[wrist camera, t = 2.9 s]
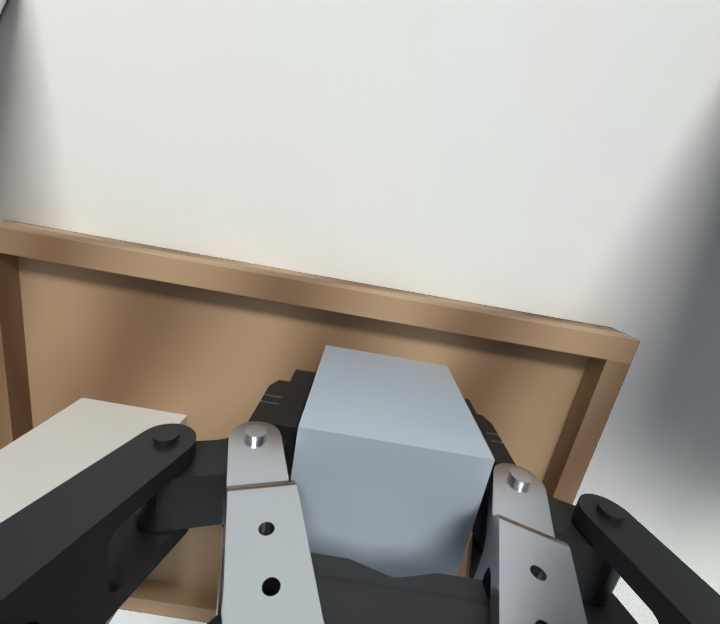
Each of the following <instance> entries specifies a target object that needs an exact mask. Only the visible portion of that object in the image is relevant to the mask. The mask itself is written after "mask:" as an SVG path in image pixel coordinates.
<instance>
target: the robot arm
mask: <svg viewBox="0 0 720 624" xmlns="http://www.w3.org/2000/svg"><path fill="white" fill-rule="evenodd" d="M315 375H316V373H315V372H310V371H304V370H298V369H296V370H295V372H294V374H293V376H292V378H291V380H290V382H289V381H283V380H278V381H276V382H274V383H273V384H271V385H269V387H268V388H267V390H266V392H265V394H264V395H263V397H262V399H261V401H260V402H259V404H258V405H257V407H256V409H255V411H254V412H253V414H252V416H251V417H250V419H249V421H248V422H245V423H242V424H240V425H238V426H236V427H235V428H233V429H232V431H231V432H230V434H229V437H228V438H225V439H219V440H205V441H196V433H195V431H194V430H193V429H192V428H190V427H189V426H186V425H183V424H175V423H170V424H162V425H157V426H154V427H152V428H149V429H147V430H145V431H144V432H142V433H140V434H139V435H137V436H136V437H134V438H133V439H131V440H130V441H128V442H126V443H125V444H123V445H122V446H120V447H119V448H117V449H115V450H114V451H112V452H111V453H109V454H108V455H106V456H104V457H103V458H101V459H100V460H98V461H97V462H95V463H93V464H92V465H90V466H89V467H87V468H86V469H84V470H82V471H81V472H79V473H78V474H76V475H75V476H73V477H72V478H70V479H68V480H67V481H65V482H64V483H62V484H61V485H59V486H57V487H56V488H54V489H53V490H51V491H50V492H48V493H46V494H45V495H43V496H42V497H40V498H39V499H37V500H35V501H34V502H32V503H31V504H29V505H28V506H26V507H25V508H23V509H21V510H20V511H18V512H17V513H15V514H14V515H12V516H10V517H9V518H7V519H6V520H4V521H3V522H1V523H0V624H105V623H106V622H107V621H108V620H109V619H110V618H111V617H112V615H113V614H114V613H115V612H116V611H117V610H118V609H119V608H120V607H121V605H122V604H123V603H124V602H125V601H126V600H127V599H128V598H129V597H130V595H131V594H132V593H133V592H134V591H135V590H136V589H137V588H138V587H139V585H140V584H141V583H142V582H143V581H144V580H145V579H146V578H147V577H148V575H149V574H150V573H151V572H152V571H153V570H154V569H155V568H156V567H157V565H158V564H159V563H160V562H161V561H162V560H163V559H164V558H165V557H166V555H167V554H168V553H169V552H170V551H171V550H172V549H173V548H174V547H175V545H176V544H177V543H178V542H179V541H180V540H181V539H182V538H183V537H184V535H185V534H186V533H187V532H188V530H189V528H195V527H203V526H211V525H219V524H221V540H220V559H219V578H218V594H217V608H216V616H215V617H214V618H213V619H212V620H211V621H210V622H208V623H207V624H638V623H637V622H636V620H635V619H634V618H633V617H632V616H631V614H630V613H629V612H628V611H627V610H626V608H625V607H624V606H623V605H622V604H621V602H620V601H619V600H618V599H617V598H616V597H615V595H614V594H613V593H612V592H613V590H614V588H615V586H616V584H617V582H618V580H619V578H620V576H621V577H622V578H623V579H624V581H625V582H626V583H627V584H628V585H629V586H630V587H631V588H632V589H633V591H634V592H635V593H636V594H637V595H638V596H639V597H640V598H641V599H642V601H643V602H644V603H645V604H646V605H647V606H648V607H649V608H650V610H651V611H652V612H653V613H654V615H655V617H656V618H657V620H658V622H659V624H720V595H719V594H718V593H717V592H716V591H715V590H714V589H712V588H711V587H710V586H709V585H708V584H707V583H706V582H705V581H704V580H702V579H701V578H700V577H699V576H698V575H697V574H696V573H695V572H694V571H693V570H691V569H690V568H689V567H688V566H687V565H686V564H685V563H684V562H683V561H681V560H680V559H679V558H678V557H677V556H676V555H675V554H674V553H673V552H671V551H670V550H669V549H668V548H667V547H666V546H665V545H664V544H663V543H662V542H660V541H659V540H658V539H657V538H656V537H655V536H654V535H653V534H652V533H650V532H649V531H648V530H647V529H646V528H645V527H644V526H643V525H642V524H640V523H639V522H638V521H637V520H636V519H635V518H634V517H633V516H632V515H631V514H629V513H628V512H627V511H626V510H625V509H623V508H622V507H620V506H619V505H617V504H616V503H614V502H612V501H610V500H608V499H606V498H604V497H601V496H598V495H594V494H583V495H581V496H580V497H579V500H578V502H577V504H576V506H574V505H572V504H569V503H567V502H564V501H561V500H559V499H556V498H554V497H551V496H549V495H547V493H546V489H545V486H544V485H543V483H542V482H541V481H540V480H539V479H538V478H537V477H536V476H535V475H534V474H532V473H531V472H530V471H528V470H526V469H524V468H522V467H520V466H517V465H516V464H515V462H514V461H513V459H512V457H511V456H510V454H509V452H508V450H507V449H506V447H505V445H504V444H503V443H502V440H501V438H500V437H499V435H498V433H497V432H496V430H495V428H494V426H493V425H492V423H490V422H489V421H488V420H487V419H486V418H485V417H484V416H483V415H480V414H477V413H476V411H475V409H474V408H473V406H472V404H471V402H470V400H469V399H465V398H464V400H465V402H466V404H467V406H468V408H469V410H470V412H471V414H472V416H473V418H474V420H475V422H476V424H477V426H478V428H479V430H480V431H481V433H482V435H483V437H484V439H485V441H486V443H487V445H488V447H489V449H490V451H491V453H492V455H493V457H494V459H495V461H494V464H493V467H492V470H491V473H490V476H489V479H488V482H487V485H486V488H485V491H484V494H483V497H482V500H481V504H480V507H479V510H478V513H477V516H476V519H475V522H474V525H473V528H472V532H473V533H472V536H471V539H470V542H469V547H468V557H467V567H466V577H460V576H453V575H447V574H441V573H435V574H426V575H417V576H408V577H399V578H396V577H391V576H388V575H386V574H384V573H381V572H379V571H377V570H374V569H372V568H370V567H367V566H365V565H362V564H360V563H358V562H355V561H353V560H351V559H348V558H342V557H336V556H330V555H324V554H317V553H311V552H310V550H309V545H308V539H307V534H306V529H305V524H304V519H303V514H302V509H301V504H300V499H299V494H298V488H297V484H296V482H295V480H291V473H292V466H293V460H294V453H295V446H296V439H297V432H298V426H299V423H300V420H301V417H302V414H303V411H304V408H305V405H306V402H307V399H308V396H309V393H310V391H311V388H312V385H313V382H314V379H315Z"/></svg>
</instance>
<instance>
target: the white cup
mask: <svg viewBox="0 0 720 624" xmlns="http://www.w3.org/2000/svg"><path fill="white" fill-rule="evenodd" d="M6 1H7V0H0V14H1V12H2V9H3V7H4V5H5V3H6Z"/></svg>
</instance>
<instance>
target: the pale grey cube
mask: <svg viewBox="0 0 720 624" xmlns="http://www.w3.org/2000/svg"><path fill="white" fill-rule="evenodd" d="M170 423H175V424H183V425H186V426H187V415H183V414H177V413H171V412H165V411H159V410H153V409H147V408H141V407H135V406H129V405H123V404H117V403H111V402H105V401H100V400H94V399H88V398H81V399H79V400H78V401H76V402H75V403H73V404H71V405H70V406H68V407H67V408H65V409H64V410H62V411H60V412H59V413H57V414H56V415H54V416H53V417H51V418H49V419H48V420H46V421H45V422H43V423H42V424H40V425H39V426H37V427H35V428H34V429H32V430H31V431H29V432H28V433H26V434H24V435H23V436H21V437H20V438H18V439H17V440H15V441H13V442H12V443H10V444H9V445H7V446H6V447H4V448H2V449H1V450H0V523H1V522H3V521H4V520H6V519H7V518H9V517H10V516H12V515H14V514H15V513H17V512H18V511H20V510H21V509H23V508H25V507H26V506H28V505H29V504H31V503H32V502H34V501H35V500H37V499H39V498H40V497H42V496H43V495H45V494H46V493H48V492H50V491H51V490H53V489H54V488H56V487H57V486H59V485H61V484H62V483H64V482H65V481H67V480H68V479H70V478H72V477H73V476H75V475H76V474H78V473H79V472H81V471H82V470H84V469H86V468H87V467H89V466H90V465H92V464H93V463H95V462H97V461H98V460H100V459H101V458H103V457H104V456H106V455H108V454H109V453H111V452H112V451H114V450H115V449H117V448H119V447H120V446H122V445H123V444H125V443H126V442H128V441H130V440H131V439H133V438H134V437H136V436H137V435H139V434H140V433H142V432H144V431H145V430H147V429H149V428H152V427H154V426H157V425H162V424H170ZM115 613H116V612H115ZM115 613H114V614H115ZM114 614H113V615H112V617H111V618H110V619H109V620H108V621H107V622H106V623H105V624H109V622H110V621H111V619H112V618H113V616H114Z"/></svg>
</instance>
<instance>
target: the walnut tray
mask: <svg viewBox="0 0 720 624" xmlns="http://www.w3.org/2000/svg"><path fill="white" fill-rule="evenodd" d="M639 343H640V341H639V340H637V339H634V338H632V337H630V336H628V335H626V334H624V333H622V332H620V331H617V330H615V329H613V328H610V327H605V326H599V325H594V324H588V323H582V322H577V321H571V320H565V319H560V318H554V317H549V316H543V315H537V314H532V313H526V312H520V311H515V310H509V309H504V308H498V307H492V306H487V305H481V304H475V303H470V302H464V301H459V300H453V299H447V298H442V297H436V296H430V295H425V294H419V293H414V292H408V291H402V290H397V289H391V288H385V287H380V286H374V285H369V284H363V283H357V282H352V281H346V280H340V279H335V278H329V277H324V276H318V275H312V274H307V273H301V272H295V271H290V270H284V269H279V268H273V267H267V266H262V265H256V264H250V263H245V262H239V261H234V260H228V259H222V258H217V257H211V256H205V255H200V254H194V253H189V252H183V251H177V250H172V249H166V248H161V247H155V246H149V245H144V244H138V243H132V242H127V241H121V240H116V239H110V238H104V237H99V236H93V235H87V234H82V233H76V232H71V231H65V230H59V229H54V228H48V227H42V226H37V225H31V224H26V223H20V222H14V221H9V220H8V221H0V450H1V449H2V448H4V447H6V446H7V445H9V444H10V443H12V442H13V441H15V440H17V439H18V438H20V437H21V436H23V435H24V434H26V433H28V432H29V431H31V430H32V429H34V428H35V427H37V426H39V425H40V424H42V423H43V422H45V421H46V420H48V419H49V418H51V417H53V416H54V415H56V414H57V413H59V412H60V411H62V410H64V409H65V408H67V407H68V406H70V405H71V404H73V403H75V402H76V401H78V400H79V399H81V398H88V399H94V400H100V401H105V402H111V403H117V404H123V405H129V406H135V407H141V408H147V409H153V410H159V411H165V412H171V413H177V414H183V415H187V426H189V427H190V428H192V429H193V430H194V431H195V433H196V441H205V440H219V439H225V438H228V437H229V434H230V432H231V431H232V429H233V428H235V427H236V426H238V425H240V424H242V423H245V422H248V421H249V419H250V417H251V416H252V414H253V412H254V411H255V409H256V407H257V405H258V404H259V402H260V401H261V399H262V397H263V395H264V394H265V392H266V390H267V388H268V387H269V385H271V384H273V383H274V382H276V381H278V380H283V381H289V382H290V380H291V378H292V376H293V374H294V372H295V370H296V369H298V370H304V371H310V372H315V373H317V370H318V367H319V364H320V361H321V358H322V355H323V352H324V349H325V346H326V345H329V346H335V347H341V348H346V349H352V350H358V351H364V352H369V353H375V354H381V355H387V356H392V357H398V358H404V359H410V360H415V361H421V362H427V363H433V364H438V365H444V366H447V367H448V369H449V370H450V372H451V374H452V376H453V378H454V380H455V382H456V384H457V386H458V388H459V390H460V392H461V394H462V396H463V398H465V399H469V400H470V402H471V404H472V406H473V408H474V409H475V411H476V413H477V414H480V415H483V416H484V417H485V418H486V419H487V420H488V421H489V422H490V423H492V425H493V426H494V428H495V430H496V432H497V433H498V435H499V437H500V438H501V440H502V443H503V444H504V445H505V447H506V449H507V450H508V452H509V454H510V456H511V457H512V459H513V461H514V462H515V464H516V465H517V466H520V467H522V468H524V469H526V470H528V471H530V472H531V473H532V474H534V475H535V476H536V477H537V478H538V479H539V480H540V481H541V482H542V483H543V485H544V486H545V489H546V493H547V495H549V496H551V497H554V498H556V499H559V500H561V501H564V502H567V503H569V504H573V501H574V499H575V497H576V494H577V492H578V489H579V487H580V485H581V482H582V480H583V477H584V475H585V472H586V470H587V468H588V465H589V463H590V460H591V458H592V456H593V453H594V451H595V448H596V446H597V444H598V441H599V439H600V436H601V434H602V432H603V429H604V427H605V424H606V422H607V420H608V417H609V415H610V412H611V410H612V408H613V405H614V403H615V400H616V398H617V396H618V393H619V391H620V388H621V386H622V384H623V381H624V379H625V376H626V374H627V372H628V369H629V367H630V364H631V362H632V360H633V357H634V355H635V352H636V350H637V348H638V345H639ZM315 376H316V375H315ZM472 533H473V532H472V531H471V534H470V537H469V540H468V543H467V546H466V549H465V552H464V555H463V558H462V561H461V564H460V567H459V570H458V573H457V576H460V577H466V567H467V557H468V547H469V542H470V539H471V536H472ZM220 540H221V524H219V525H211V526H203V527H195V528H189V530H188V532H187V533H186V534H185V535H184V537H183V538H182V539H181V540H180V541H179V542H178V543H177V544H176V545H175V547H174V548H173V549H172V550H171V551H170V552H169V553H168V554H167V555H166V557H165V558H164V559H163V560H162V561H161V562H160V563H159V564H158V565H157V567H156V568H155V569H154V570H153V571H152V572H151V573H150V574H149V575H148V577H147V578H146V579H145V580H144V581H143V582H142V583H141V584H140V585H139V587H138V588H137V589H136V590H135V591H134V592H133V593H132V594H131V595H130V597H129V598H128V599H127V600H126V601H125V602H124V603H123V604H122V605H121V607H120V608H119V609H123V610H129V611H135V612H142V613H148V614H154V615H161V616H167V617H174V618H180V619H186V620H193V621H199V622H205V623H208V622H210V621H211V620H212V619H213V618H214V617H215V616H216V608H217V594H218V578H219V559H220Z"/></svg>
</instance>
